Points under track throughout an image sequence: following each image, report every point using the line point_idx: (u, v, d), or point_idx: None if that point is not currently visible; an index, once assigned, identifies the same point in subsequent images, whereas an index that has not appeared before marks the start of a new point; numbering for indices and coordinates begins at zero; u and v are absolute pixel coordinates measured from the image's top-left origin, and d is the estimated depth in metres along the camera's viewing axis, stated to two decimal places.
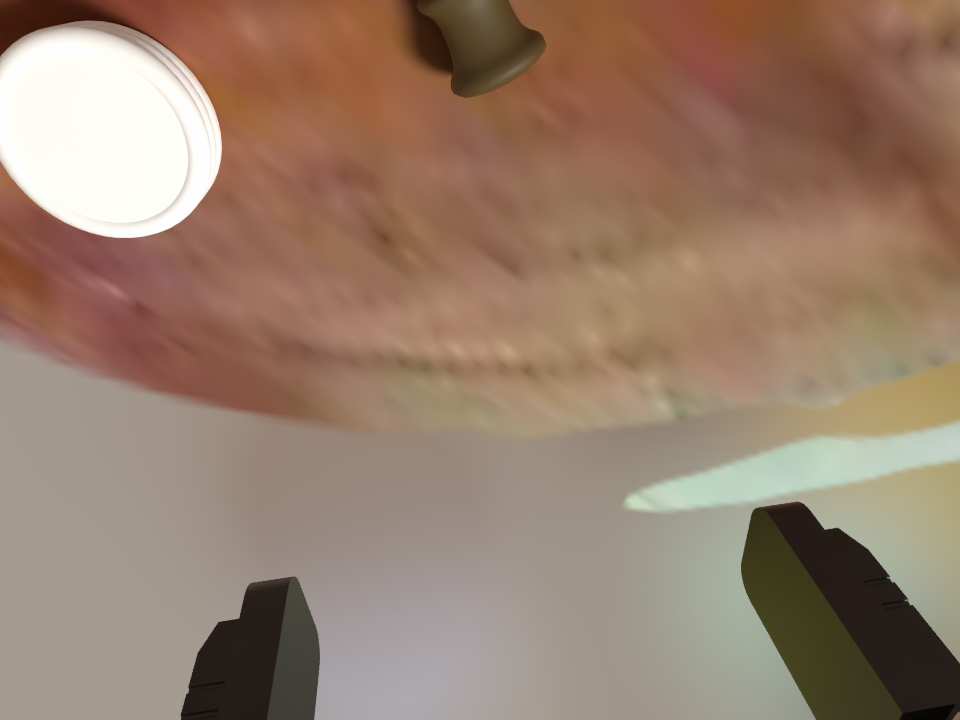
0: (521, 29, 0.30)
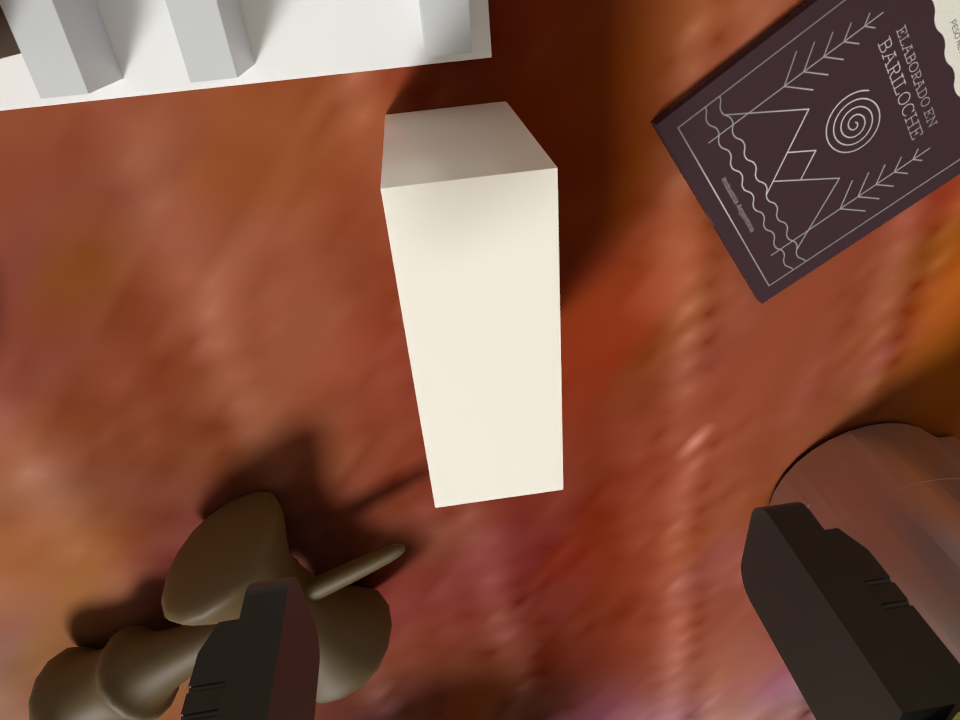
0: None
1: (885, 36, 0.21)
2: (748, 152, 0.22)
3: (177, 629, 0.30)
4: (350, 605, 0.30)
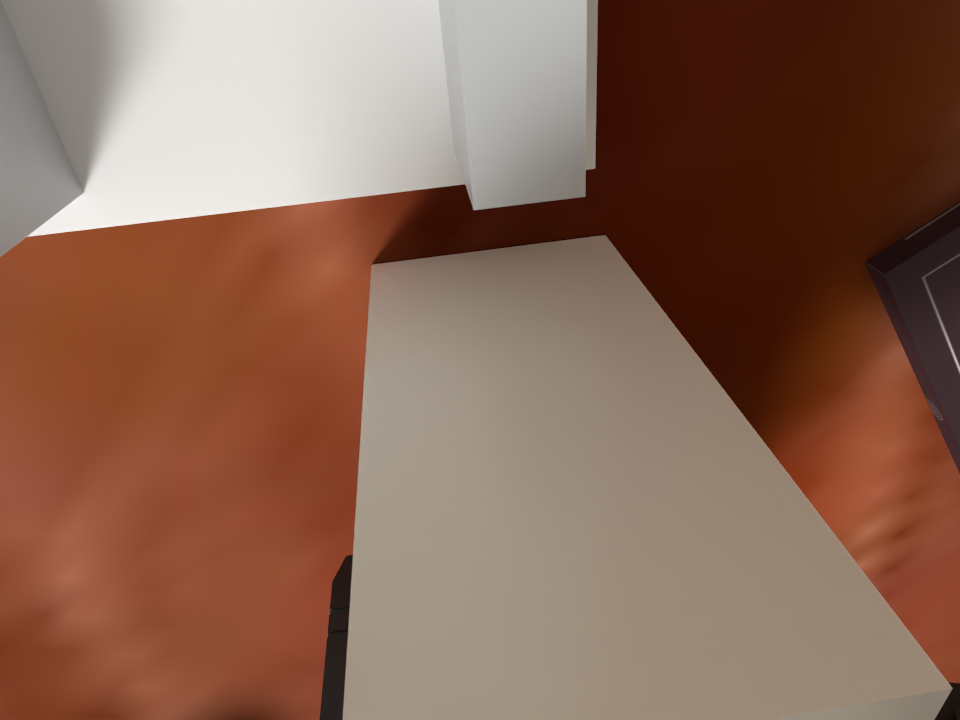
0: None
1: None
2: None
3: None
4: None
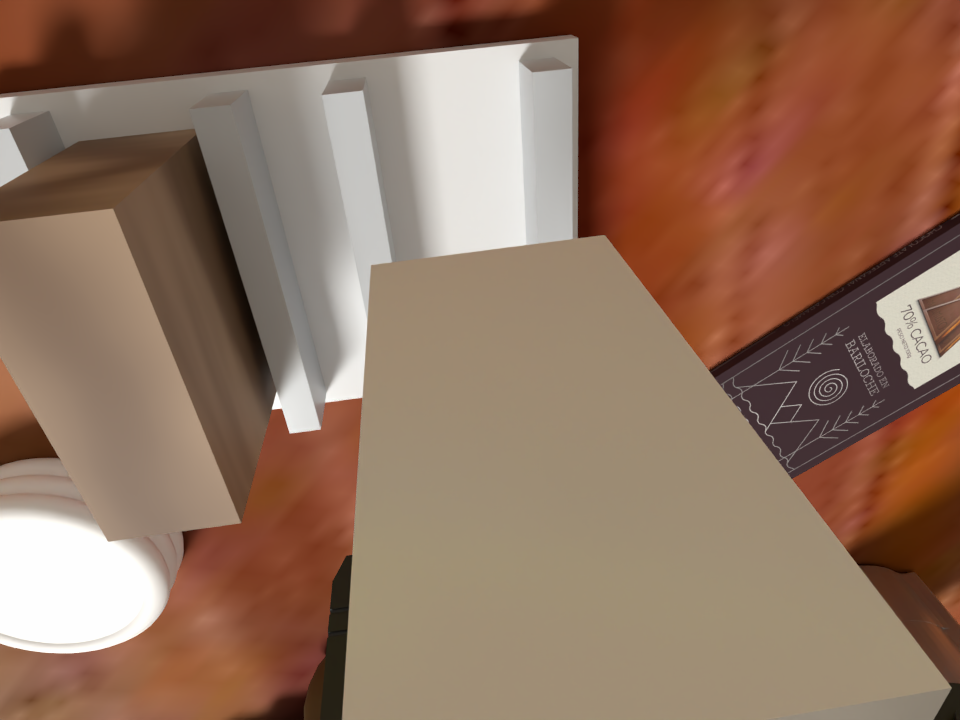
0: None
1: (850, 339, 0.29)
2: (752, 407, 0.31)
3: None
4: None
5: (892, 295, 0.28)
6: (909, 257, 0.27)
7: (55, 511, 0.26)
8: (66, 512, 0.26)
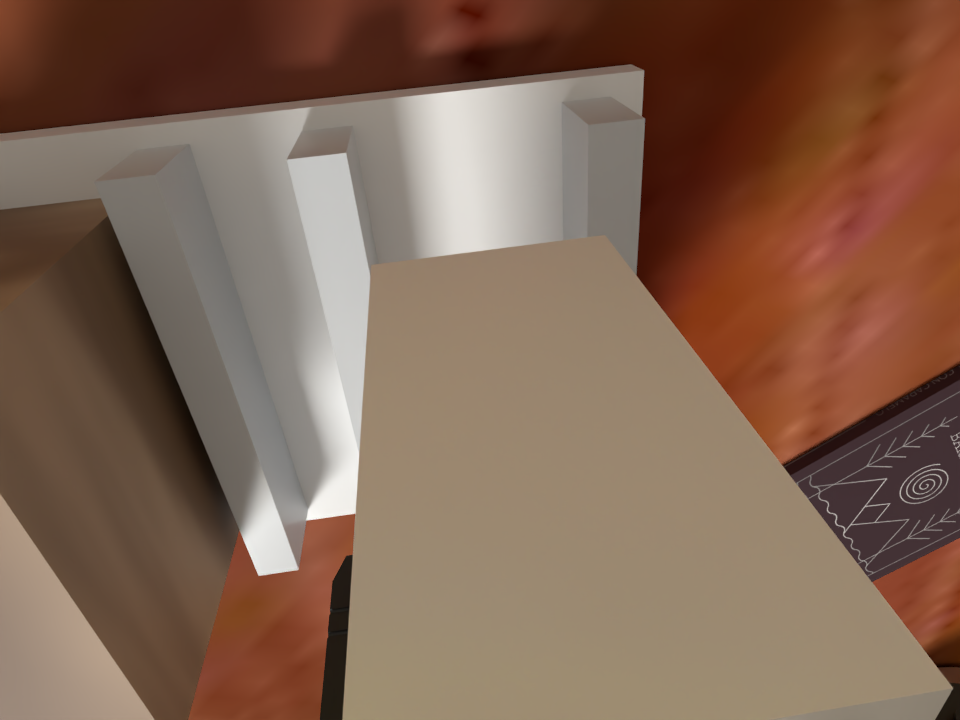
0: None
1: (957, 430, 0.24)
2: (830, 508, 0.25)
3: None
4: None
5: None
6: None
7: None
8: None
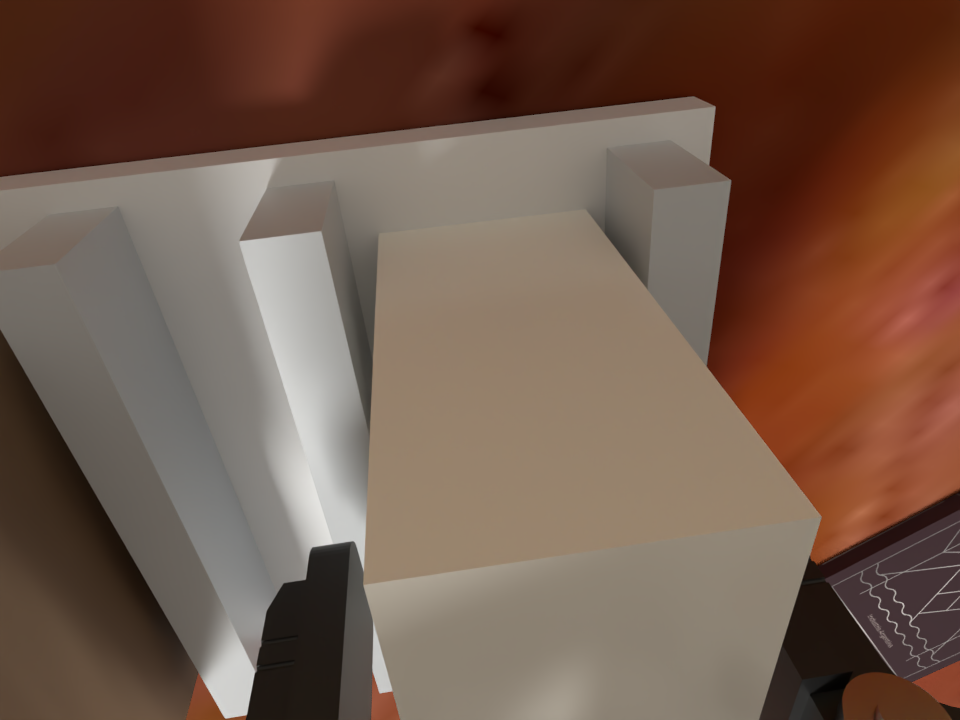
0: None
1: None
2: (897, 597, 0.22)
3: None
4: None
5: None
6: None
7: None
8: None
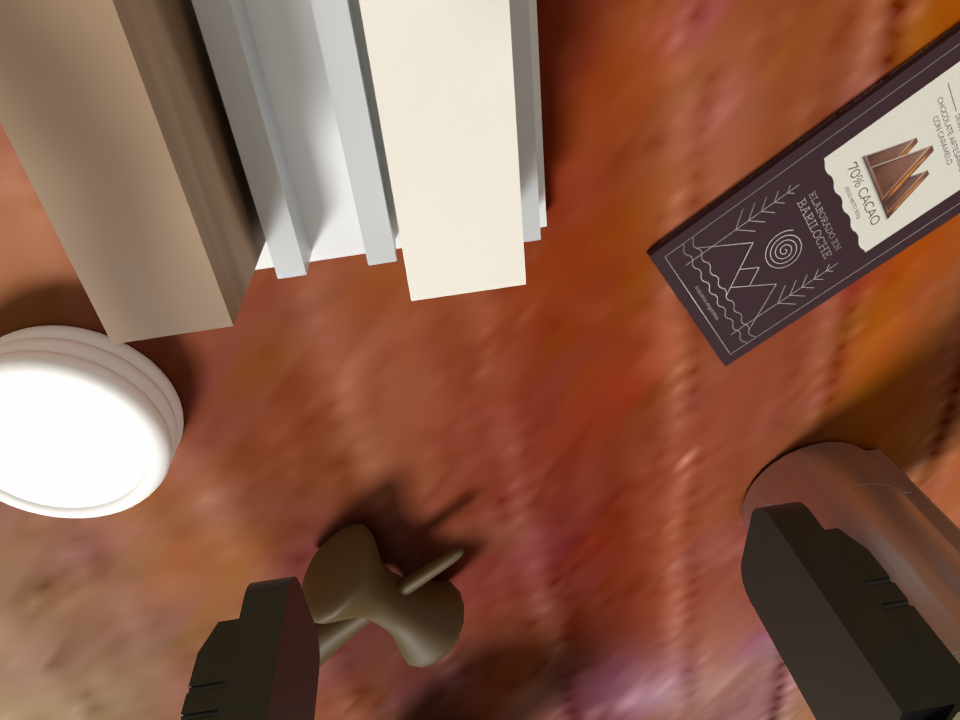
0: None
1: (801, 198, 0.31)
2: (712, 270, 0.33)
3: None
4: (431, 595, 0.41)
5: (838, 151, 0.30)
6: (852, 111, 0.29)
7: (62, 365, 0.28)
8: (72, 366, 0.28)
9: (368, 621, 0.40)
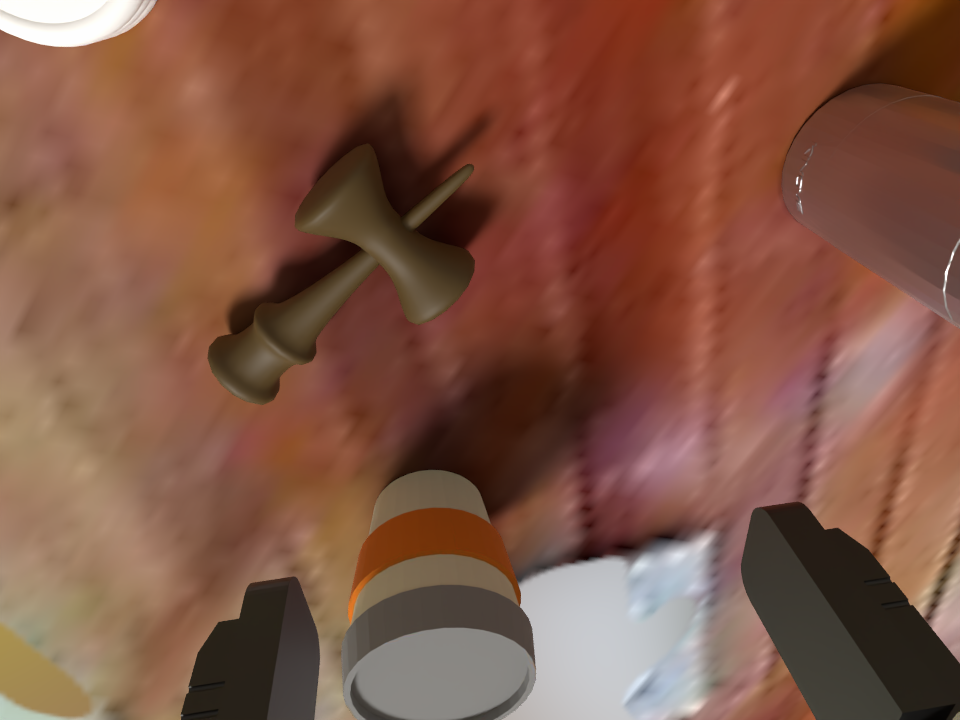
0: (273, 383, 0.40)
1: None
2: None
3: (308, 287, 0.38)
4: (439, 244, 0.37)
5: None
6: None
7: None
8: None
9: (370, 265, 0.37)
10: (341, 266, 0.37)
